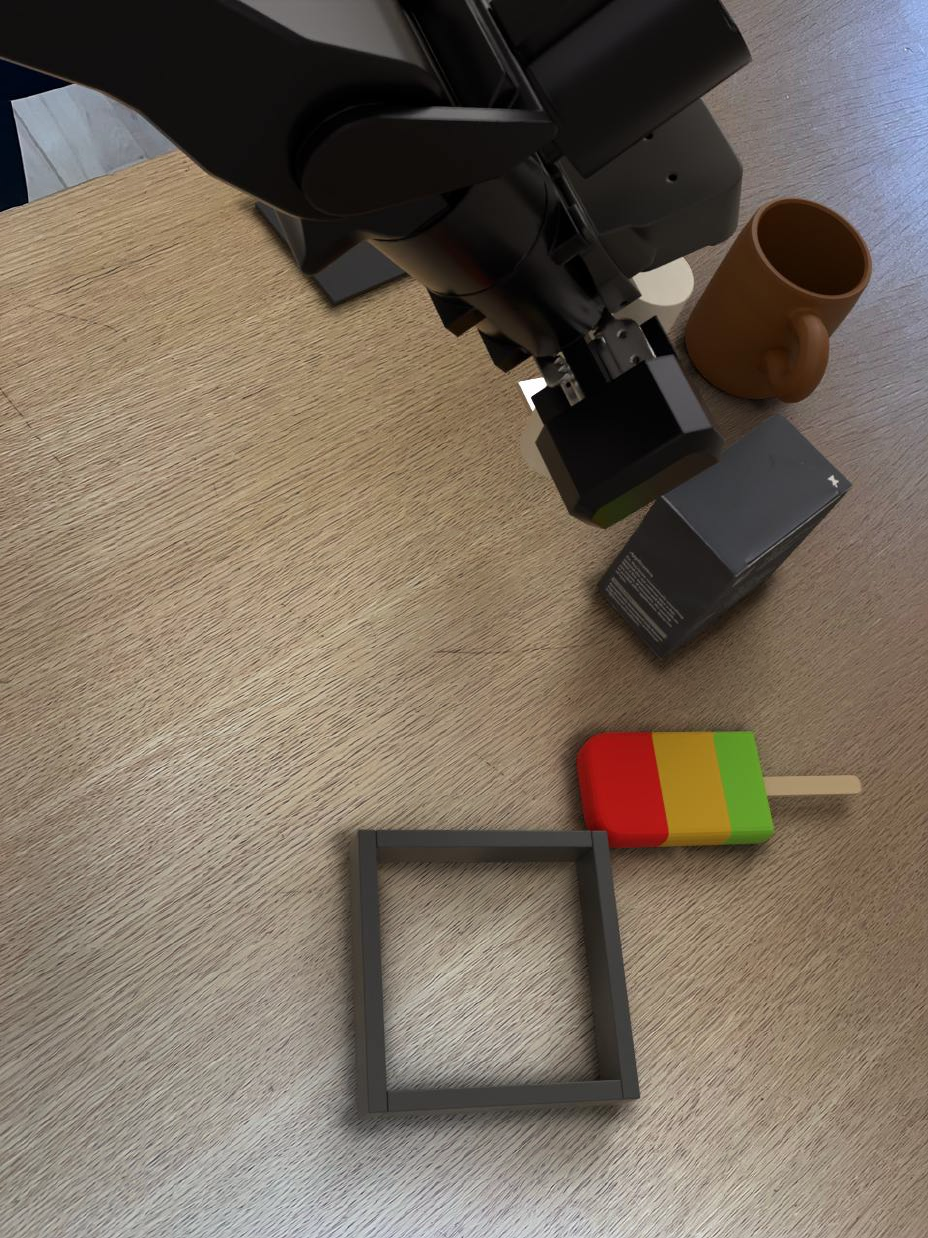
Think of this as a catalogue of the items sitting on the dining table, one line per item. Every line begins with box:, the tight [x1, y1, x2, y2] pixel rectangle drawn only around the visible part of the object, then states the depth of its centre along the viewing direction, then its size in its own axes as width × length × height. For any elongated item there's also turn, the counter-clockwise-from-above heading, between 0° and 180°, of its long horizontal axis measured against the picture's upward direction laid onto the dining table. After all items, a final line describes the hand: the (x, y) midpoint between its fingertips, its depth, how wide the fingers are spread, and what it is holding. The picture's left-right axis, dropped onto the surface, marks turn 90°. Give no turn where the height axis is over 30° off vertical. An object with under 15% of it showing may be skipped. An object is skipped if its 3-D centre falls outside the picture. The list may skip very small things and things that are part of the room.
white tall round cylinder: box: [515, 257, 695, 480], centre depth 57 cm, size 7×4×13 cm, turn 22°
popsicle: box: [576, 730, 862, 849], centre depth 62 cm, size 6×15×2 cm, turn 96°
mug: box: [684, 196, 873, 404], centre depth 72 cm, size 12×8×9 cm, turn 177°
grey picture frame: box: [348, 829, 641, 1120], centre depth 55 cm, size 12×12×2 cm
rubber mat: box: [254, 201, 409, 306], centre depth 73 cm, size 8×8×1 cm
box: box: [596, 412, 853, 660], centre depth 64 cm, size 9×6×10 cm, turn 131°
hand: (624, 363), depth 57 cm, fingers closed on white tall round cylinder, 3 cm apart
